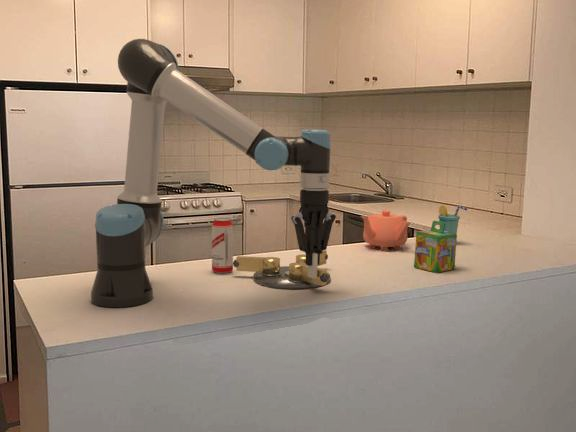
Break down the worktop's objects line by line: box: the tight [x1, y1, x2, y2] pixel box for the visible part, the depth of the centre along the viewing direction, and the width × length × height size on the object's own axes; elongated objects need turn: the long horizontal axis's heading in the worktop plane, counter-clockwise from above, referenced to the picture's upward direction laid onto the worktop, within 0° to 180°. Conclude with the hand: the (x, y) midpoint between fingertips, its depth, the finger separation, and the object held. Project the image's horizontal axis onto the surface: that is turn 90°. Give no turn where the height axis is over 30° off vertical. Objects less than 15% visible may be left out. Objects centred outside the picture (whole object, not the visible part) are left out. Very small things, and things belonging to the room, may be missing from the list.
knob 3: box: [289, 262, 329, 287], centre depth 173 cm, size 14×5×4 cm, turn 43°
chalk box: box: [413, 220, 458, 274], centre depth 196 cm, size 9×9×15 cm
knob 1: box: [233, 255, 281, 275], centre depth 184 cm, size 14×5×4 cm, turn 82°
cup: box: [437, 204, 468, 235], centre depth 234 cm, size 14×8×15 cm, turn 35°
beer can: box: [211, 217, 234, 275], centre depth 189 cm, size 6×6×16 cm
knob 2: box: [295, 250, 329, 267], centre depth 190 cm, size 14×5×4 cm, turn 142°
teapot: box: [360, 209, 410, 252], centre depth 227 cm, size 16×17×14 cm
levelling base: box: [253, 265, 331, 291], centre depth 183 cm, size 22×22×2 cm
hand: (312, 276), depth 170 cm, fingers closed
